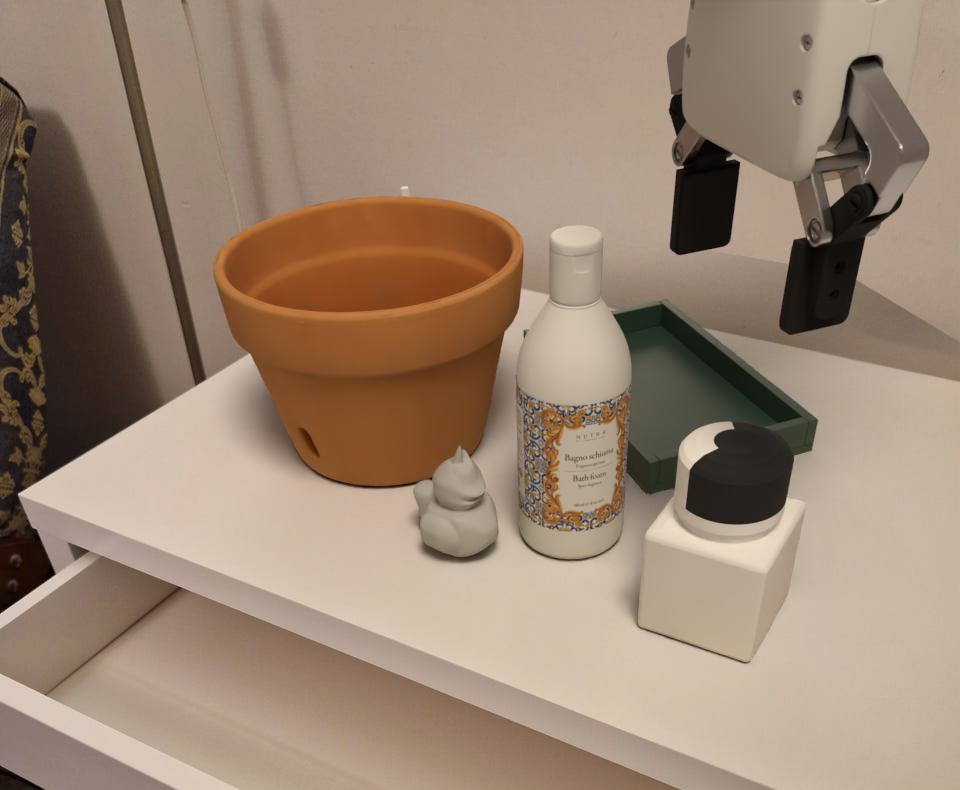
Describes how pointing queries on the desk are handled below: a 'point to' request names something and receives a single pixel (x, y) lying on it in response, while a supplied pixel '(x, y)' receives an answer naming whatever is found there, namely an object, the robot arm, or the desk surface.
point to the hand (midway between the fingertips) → (751, 285)
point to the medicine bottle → (723, 541)
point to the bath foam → (573, 408)
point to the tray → (693, 392)
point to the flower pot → (375, 327)
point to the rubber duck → (456, 508)
